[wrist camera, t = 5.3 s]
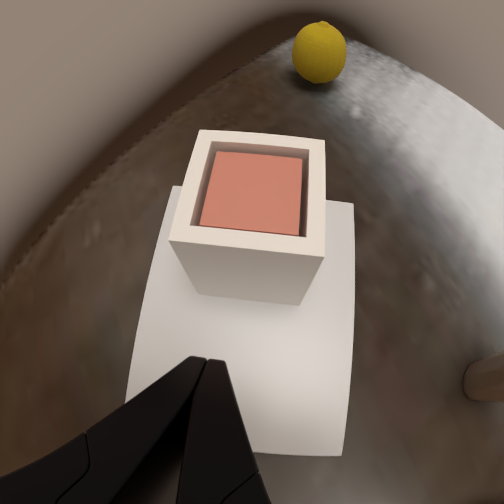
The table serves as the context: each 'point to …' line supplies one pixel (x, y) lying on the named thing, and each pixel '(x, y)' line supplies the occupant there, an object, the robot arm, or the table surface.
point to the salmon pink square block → (254, 194)
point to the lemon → (319, 52)
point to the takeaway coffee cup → (485, 379)
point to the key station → (257, 302)
